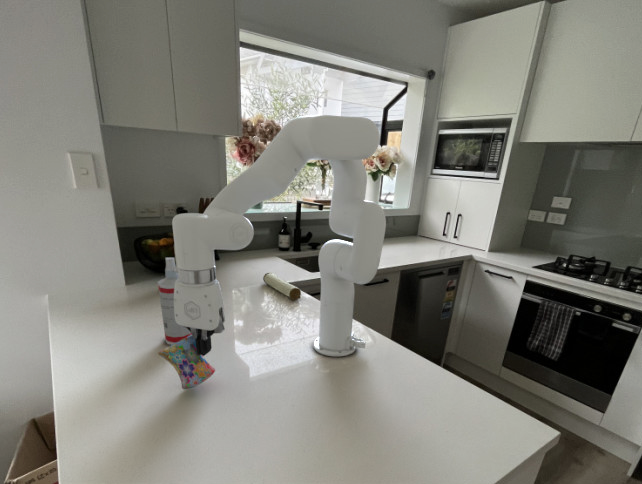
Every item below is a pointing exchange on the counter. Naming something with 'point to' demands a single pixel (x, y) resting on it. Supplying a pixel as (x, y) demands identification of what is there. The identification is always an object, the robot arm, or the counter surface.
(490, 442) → the counter surface
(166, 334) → the spray bottle
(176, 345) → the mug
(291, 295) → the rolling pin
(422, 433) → the counter surface
